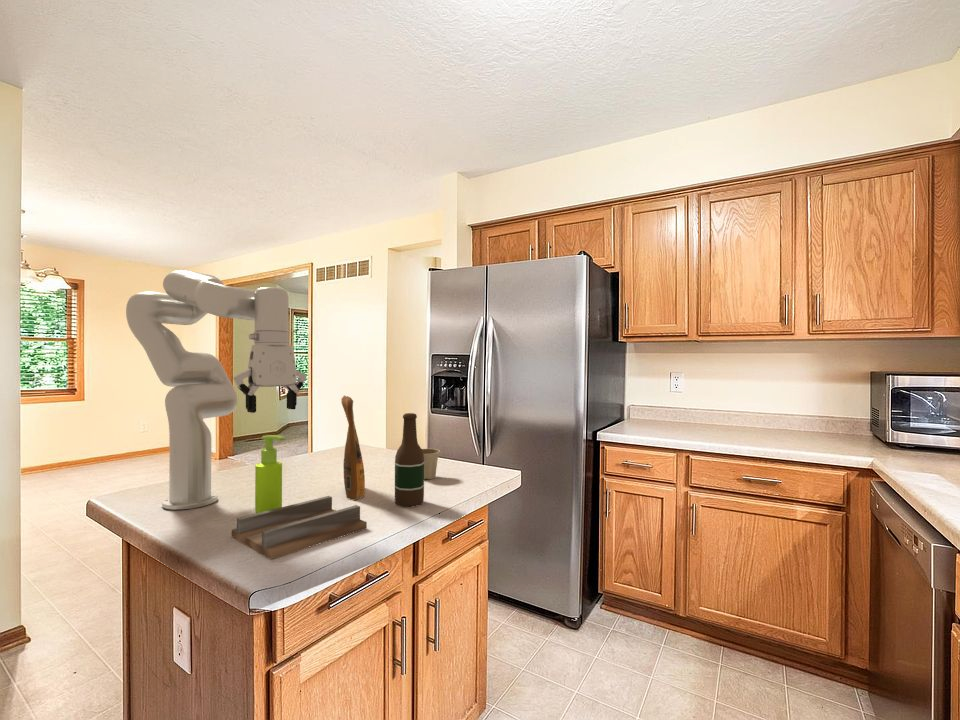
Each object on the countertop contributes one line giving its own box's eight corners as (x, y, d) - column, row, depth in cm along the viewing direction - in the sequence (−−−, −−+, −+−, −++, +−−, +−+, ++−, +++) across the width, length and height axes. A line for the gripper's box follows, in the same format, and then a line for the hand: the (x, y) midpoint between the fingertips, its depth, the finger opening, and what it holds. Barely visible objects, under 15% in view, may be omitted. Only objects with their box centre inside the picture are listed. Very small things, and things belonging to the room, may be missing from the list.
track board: (231, 536, 102) (231, 515, 102) (323, 511, 119) (323, 493, 119) (271, 559, 90) (271, 535, 90) (366, 528, 107) (366, 508, 107)
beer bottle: (411, 509, 121) (411, 416, 121) (388, 504, 125) (388, 414, 125) (429, 502, 127) (430, 413, 127) (407, 497, 131) (408, 411, 131)
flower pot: (407, 480, 150) (407, 453, 150) (416, 473, 159) (416, 448, 159) (435, 481, 148) (436, 454, 148) (443, 474, 158) (443, 449, 158)
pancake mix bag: (339, 503, 126) (340, 398, 126) (340, 485, 144) (341, 393, 144) (365, 501, 127) (366, 398, 128) (363, 483, 146) (364, 393, 146)
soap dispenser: (275, 523, 110) (276, 438, 110) (249, 521, 111) (250, 436, 111) (290, 515, 115) (291, 434, 116) (265, 513, 117) (266, 433, 117)
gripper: (241, 337, 104) (241, 414, 104) (313, 340, 118) (313, 408, 117) (227, 338, 109) (227, 412, 109) (297, 341, 122) (297, 407, 122)
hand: (272, 410), depth 113 cm, fingers open, 9 cm apart
